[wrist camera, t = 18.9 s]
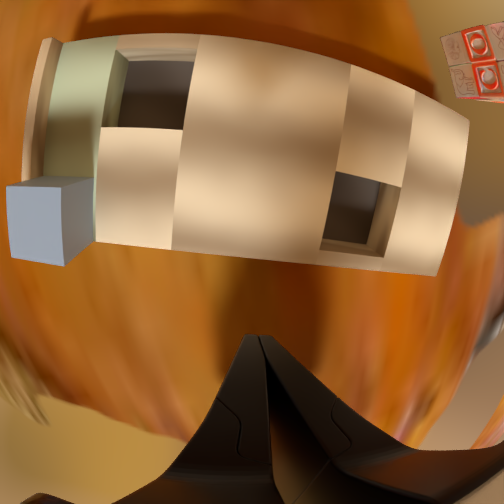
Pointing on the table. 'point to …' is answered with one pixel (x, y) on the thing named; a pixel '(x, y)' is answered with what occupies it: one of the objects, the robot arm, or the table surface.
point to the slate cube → (50, 218)
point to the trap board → (247, 150)
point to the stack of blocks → (477, 62)
